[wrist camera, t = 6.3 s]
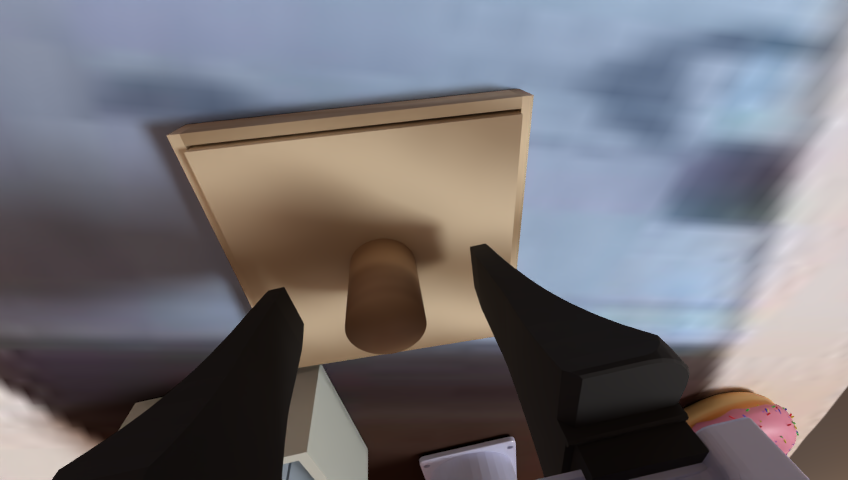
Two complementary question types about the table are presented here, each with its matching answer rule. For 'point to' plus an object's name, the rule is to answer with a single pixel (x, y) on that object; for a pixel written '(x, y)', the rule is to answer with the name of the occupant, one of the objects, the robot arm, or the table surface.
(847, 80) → the table surface
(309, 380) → the storage box
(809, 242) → the table surface
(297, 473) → the block
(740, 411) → the doughnut
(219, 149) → the lid
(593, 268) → the table surface
